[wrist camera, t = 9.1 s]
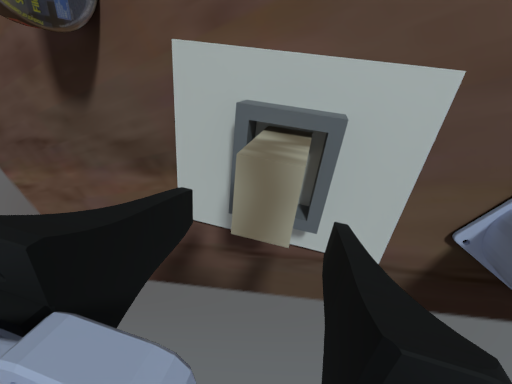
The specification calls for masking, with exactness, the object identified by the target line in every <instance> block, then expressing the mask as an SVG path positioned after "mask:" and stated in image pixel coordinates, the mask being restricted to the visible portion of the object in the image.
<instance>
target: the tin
mask: <svg viewBox="0 0 512 384" xmlns="http://www.w3.org/2000/svg"><path fill="white" fill-rule="evenodd" d="M96 5H97V0H0V15H2V16H3V17H5V18H7V19H10V20H12V21H14V22H17V23H20V24H23V25H26V26H30V27H35V28H42V29H45V30H49V31H54V32H71V31H75V30H78V29H80V28H81V27H83V26H84V25H85V24H86V23H87V22H88V21H89V20H90V19H91V17H92V15H93V13H94V11H95V8H96Z"/></svg>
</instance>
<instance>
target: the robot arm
mask: <svg viewBox="0 0 512 384" xmlns="http://www.w3.org/2000/svg"><path fill="white" fill-rule="evenodd" d="M192 223H193V189H188V188H184V187H180V188H175V189H171V190H168V191H165V192H161V193H158V194H155V195H152V196H149V197H145V198H142V199H138V200H134V201H131V202H127V203H123V204H119V205H115V206H110V207H105V208H99V209H93V210H85V211H78V212H70V213H59V214H44V215H0V384H196V380H195V378H194V375H193V373H192V371H191V368H190V366H189V365H188V364H187V363H186V362H185V361H184V360H183V359H182V358H181V357H180V356H179V355H178V354H177V353H175V352H173V351H171V350H170V349H168V348H166V347H164V346H162V345H160V344H158V343H155V342H153V341H150V340H147V339H144V338H142V337H138V336H136V335H133V334H130V333H128V332H125V331H122V330H119V329H116V328H117V327H118V325H119V323H120V322H121V320H122V318H123V317H124V315H125V313H126V312H127V310H128V309H129V307H130V306H131V304H132V303H133V301H134V300H135V298H136V297H137V295H138V293H139V292H140V290H141V289H142V288H143V286H144V285H145V283H146V282H147V280H148V279H149V278H150V276H151V275H152V274H153V272H154V271H155V270H156V269H157V267H158V266H159V265H160V264H161V263H162V262H163V261H164V259H165V258H166V257H167V256H168V255H169V254H170V253H171V251H172V250H173V249H174V248H175V247H176V246H177V244H178V243H179V242H180V241H181V240H182V238H183V237H184V236H185V234H186V233H187V231H188V230H189V228H190V226H191V225H192ZM452 238H453V239H454V241H455V242H456V243H457V244H459V245H460V246H461V247H462V248H463V249H465V250H466V251H467V252H468V253H469V254H470V255H472V256H473V257H474V258H475V259H476V260H477V261H479V262H480V263H481V264H482V265H483V266H485V267H486V268H487V269H488V270H489V271H490V272H492V273H493V274H494V275H495V276H496V277H498V278H499V279H500V280H501V281H502V282H503V283H505V284H506V285H507V286H508V287H509V288H510V289H512V199H510V200H508V201H507V202H505V203H503V204H502V205H500V206H498V207H497V208H495V209H493V210H492V211H490V212H488V213H487V214H485V215H483V216H482V217H480V218H478V219H477V220H475V221H473V222H472V223H470V224H468V225H467V226H465V227H463V228H462V229H460V230H458V231H457V232H455V233H454V234H453V236H452ZM464 240H467V241H466V242H463V241H464ZM322 277H323V296H324V313H325V336H324V356H323V372H322V384H512V382H511V381H510V379H509V378H508V376H507V374H506V373H505V371H504V369H503V368H502V366H501V365H500V363H499V361H498V360H497V359H496V358H495V357H493V356H492V355H490V354H488V353H487V352H486V351H484V350H483V349H481V348H479V347H478V346H477V345H475V344H473V343H472V342H470V341H469V340H467V339H466V338H464V337H463V336H461V335H460V334H458V333H457V332H455V331H454V330H453V329H451V328H450V327H448V326H447V325H446V324H444V323H443V322H442V321H440V320H439V319H437V318H436V317H435V316H434V315H432V314H431V313H430V312H429V311H427V310H426V309H425V308H424V307H422V306H421V305H420V304H419V303H418V302H416V301H415V300H414V299H413V298H412V297H410V296H409V295H408V294H407V293H406V292H405V291H404V290H403V289H402V288H400V287H399V286H398V285H397V284H396V283H395V282H394V281H393V280H392V279H391V278H390V277H389V276H388V275H387V274H386V273H385V272H384V270H383V269H382V268H381V267H380V266H379V265H378V264H377V262H376V261H375V260H374V259H373V258H372V257H371V255H370V254H369V253H368V252H367V250H366V249H365V248H364V246H363V245H362V244H361V242H360V241H359V239H358V238H357V237H356V235H355V234H354V232H353V231H352V230H351V228H350V227H349V225H347V224H343V223H339V222H334V224H333V228H332V231H331V234H330V237H329V240H328V244H327V247H326V250H325V253H324V260H323V272H322Z"/></svg>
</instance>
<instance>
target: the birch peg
mask: <svg viewBox="0 0 512 384" xmlns="http://www.w3.org/2000/svg"><path fill="white" fill-rule="evenodd" d="M312 134H313V133H311V132H305V131H298V130H292V129H286V128H280V127H274V126H268V127H267V128H265V129H264V130H263V131H262V132H261V133H260V134H259V135H257V136H256V137H255V138H254V139H253V140H252V141H251V142H250V143H248V144H247V145H246V146H245V147H244V148H243V149H242V150H240V151H239V152H238V153H237V155H236V169H235V183H234V197H233V211H232V225H231V234H234V235H238V236H242V237H246V238H250V239H254V240H258V241H262V242H266V243H270V244H274V245H279V246H283V247H287V248H289V243H290V239H291V234H292V229H293V224H294V220H295V215H296V210H297V206H298V201H299V196H300V191H301V187H302V182H303V177H304V173H305V168H306V163H307V158H308V153H309V149H310V144H311V139H312Z"/></svg>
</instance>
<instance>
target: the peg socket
mask: <svg viewBox="0 0 512 384" xmlns="http://www.w3.org/2000/svg"><path fill="white" fill-rule="evenodd" d="M172 56H173V80H174V105H175V130H176V154H177V179H178V188H180V187H184V188H188V189H193V220H196V221H200V222H204V223H208V224H212V225H216V226H220V227H224V228H228V229H231V225H232V211H233V197H234V183H235V169H236V155H237V153H238V152H239V151H240V150H242V149H243V148H244V147H245V146H246V145H247V144H248V143H250V142H251V141H252V140H253V139H254V138H255V137H256V136H257V135H259V134H260V133H261V132H262V131H263V130H264V129H265V128H267V127H268V126H274V127H280V128H286V129H292V130H298V131H305V132H311V133H313V134H312V139H311V144H310V149H309V153H308V158H307V163H306V168H305V173H304V177H303V182H302V187H301V191H300V196H299V201H298V206H297V210H296V215H295V220H294V224H293V229H292V234H291V239H290V243H289V244H292V245H296V246H300V247H304V248H308V249H312V250H316V251H320V252H324V253H325V250H326V247H327V244H328V240H329V237H330V234H331V231H332V228H333V224H334V222H339V223H343V224H347V225H349V227H350V228H351V230H352V231H353V232H354V234H355V235H356V237H357V238H358V239H359V241H360V242H361V244H362V245H363V246H364V248H365V249H366V250H367V252H368V253H369V254H370V255H371V257H372V258H373V259H374V260H375V261H376V262H377V264H379V262H380V260H381V257H382V255H383V253H384V251H385V249H386V246H387V244H388V242H389V240H390V238H391V235H392V233H393V231H394V229H395V227H396V224H397V222H398V220H399V218H400V216H401V213H402V211H403V209H404V207H405V205H406V202H407V200H408V198H409V196H410V194H411V191H412V189H413V187H414V185H415V183H416V180H417V178H418V176H419V174H420V172H421V169H422V167H423V165H424V163H425V161H426V158H427V156H428V154H429V152H430V149H431V147H432V145H433V143H434V141H435V138H436V136H437V134H438V132H439V130H440V127H441V125H442V123H443V121H444V119H445V116H446V114H447V112H448V110H449V108H450V105H451V103H452V101H453V99H454V97H455V94H456V92H457V90H458V88H459V86H460V83H461V81H462V79H463V77H464V75H465V72H466V71H460V70H451V69H441V68H432V67H423V66H414V65H405V64H396V63H387V62H378V61H369V60H360V59H351V58H341V57H332V56H323V55H314V54H305V53H296V52H287V51H278V50H269V49H260V48H251V47H242V46H232V45H223V44H214V43H205V42H196V41H187V40H178V39H172Z"/></svg>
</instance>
